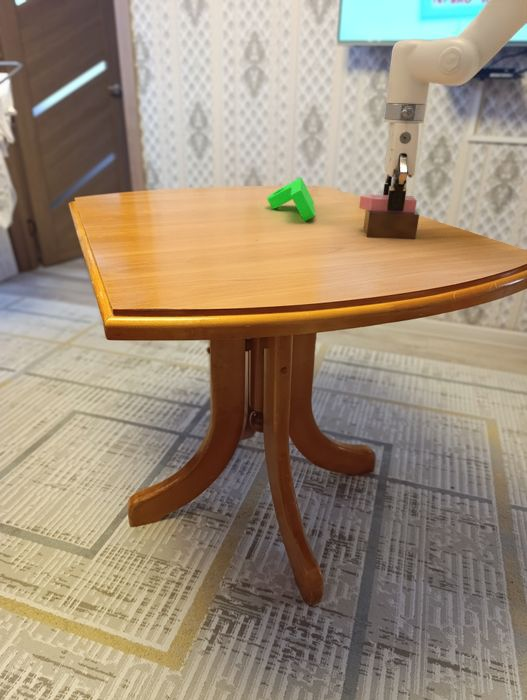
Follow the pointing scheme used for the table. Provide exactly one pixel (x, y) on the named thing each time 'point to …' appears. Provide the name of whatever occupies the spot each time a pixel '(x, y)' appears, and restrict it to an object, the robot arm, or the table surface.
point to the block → (391, 224)
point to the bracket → (294, 198)
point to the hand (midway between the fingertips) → (392, 206)
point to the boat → (385, 203)
